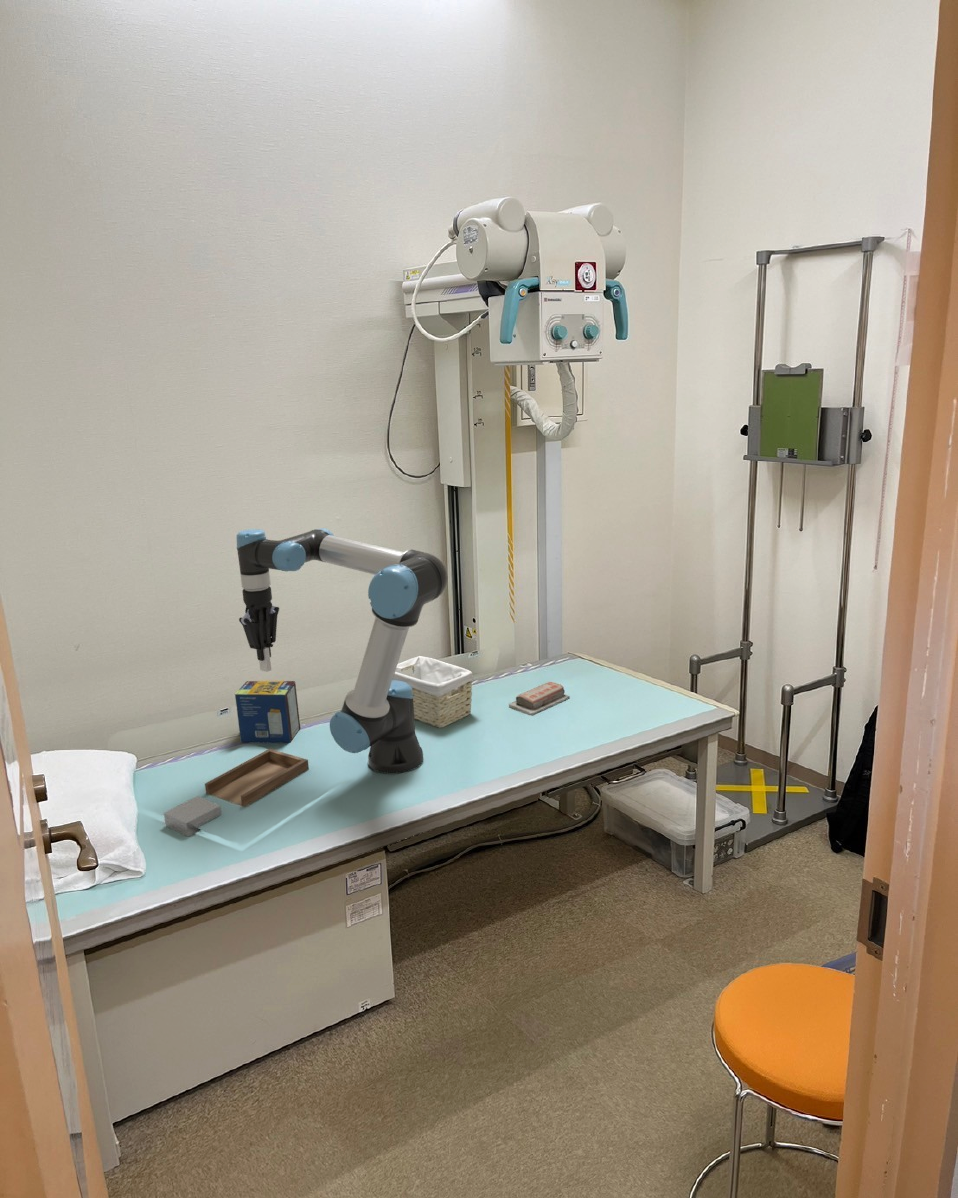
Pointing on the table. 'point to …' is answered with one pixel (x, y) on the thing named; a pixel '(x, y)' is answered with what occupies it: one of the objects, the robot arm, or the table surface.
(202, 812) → the gray rectangular block
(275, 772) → the walnut box
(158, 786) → the table surface
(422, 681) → the storage basket
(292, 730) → the protein box
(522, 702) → the packaged product
